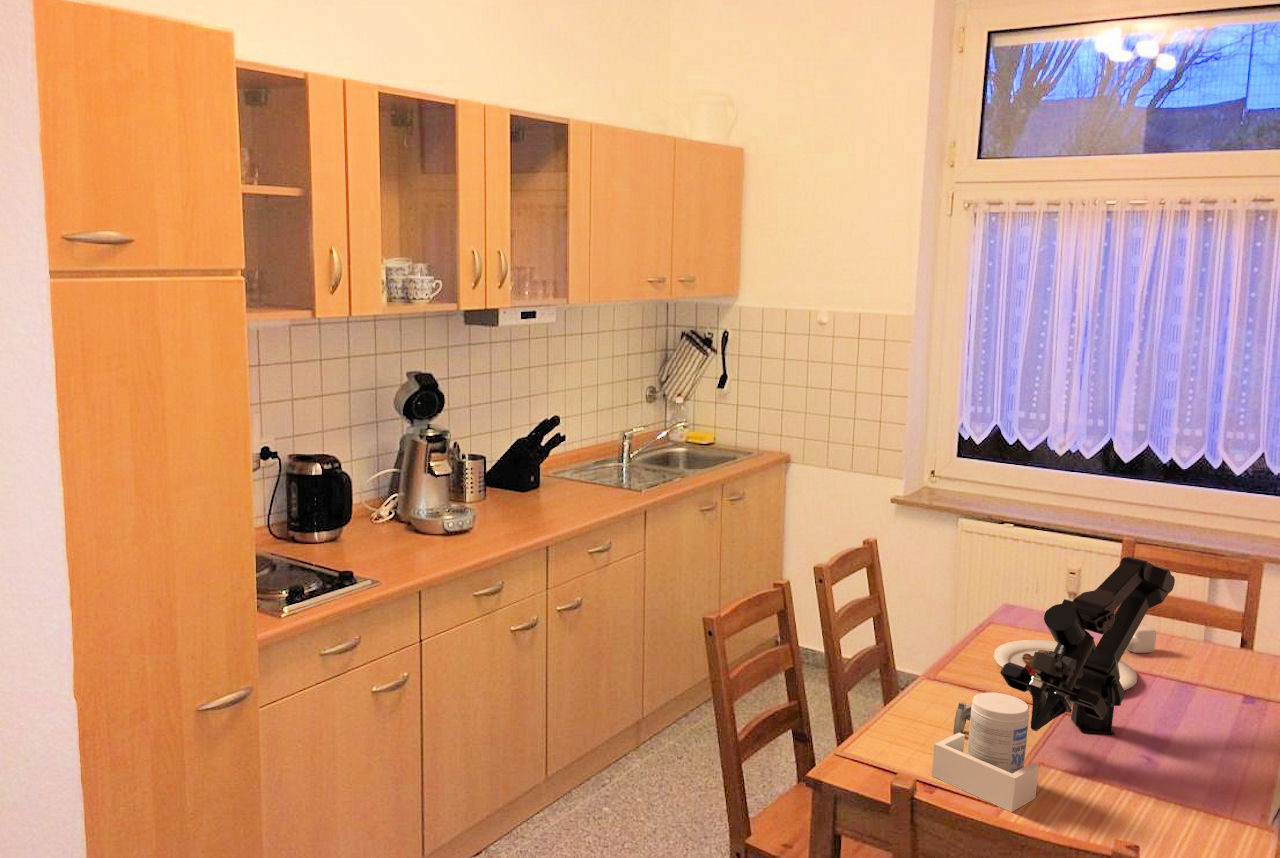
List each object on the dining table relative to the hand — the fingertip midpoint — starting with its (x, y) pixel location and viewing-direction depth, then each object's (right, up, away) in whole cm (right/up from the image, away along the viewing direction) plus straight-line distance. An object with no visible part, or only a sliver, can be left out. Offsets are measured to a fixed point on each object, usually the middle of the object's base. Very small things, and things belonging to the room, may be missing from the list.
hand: (1033, 729), depth 193 cm
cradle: (-12, -7, -9) cm, 17 cm away
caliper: (-5, -3, +18) cm, 19 cm away
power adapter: (+45, +2, +59) cm, 75 cm away
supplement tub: (-10, -7, -7) cm, 14 cm away
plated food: (+24, 0, +45) cm, 51 cm away
